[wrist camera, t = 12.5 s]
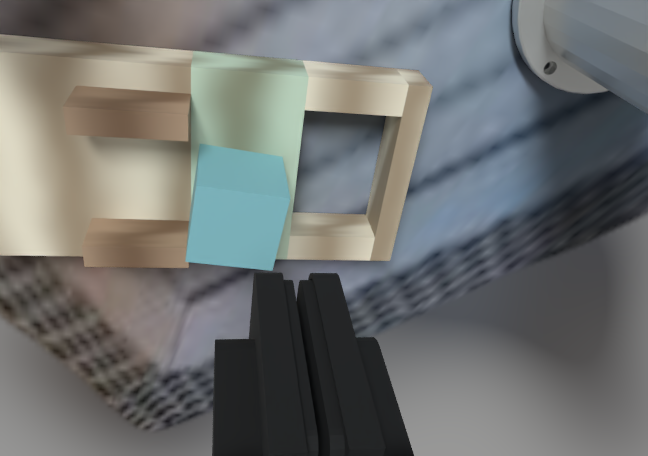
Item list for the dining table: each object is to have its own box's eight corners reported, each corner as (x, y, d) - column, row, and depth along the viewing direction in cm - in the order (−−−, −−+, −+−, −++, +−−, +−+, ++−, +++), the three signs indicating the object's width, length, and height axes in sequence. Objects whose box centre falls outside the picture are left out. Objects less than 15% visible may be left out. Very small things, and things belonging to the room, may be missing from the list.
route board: (418, 70, 35) (449, 106, 30) (380, 236, 42) (400, 287, 37) (-54, 29, 30) (-108, 64, 25) (-6, 228, 37) (-42, 285, 32)
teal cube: (282, 156, 34) (290, 198, 30) (266, 223, 36) (272, 270, 32) (199, 143, 32) (196, 185, 28) (189, 213, 35) (185, 261, 31)
